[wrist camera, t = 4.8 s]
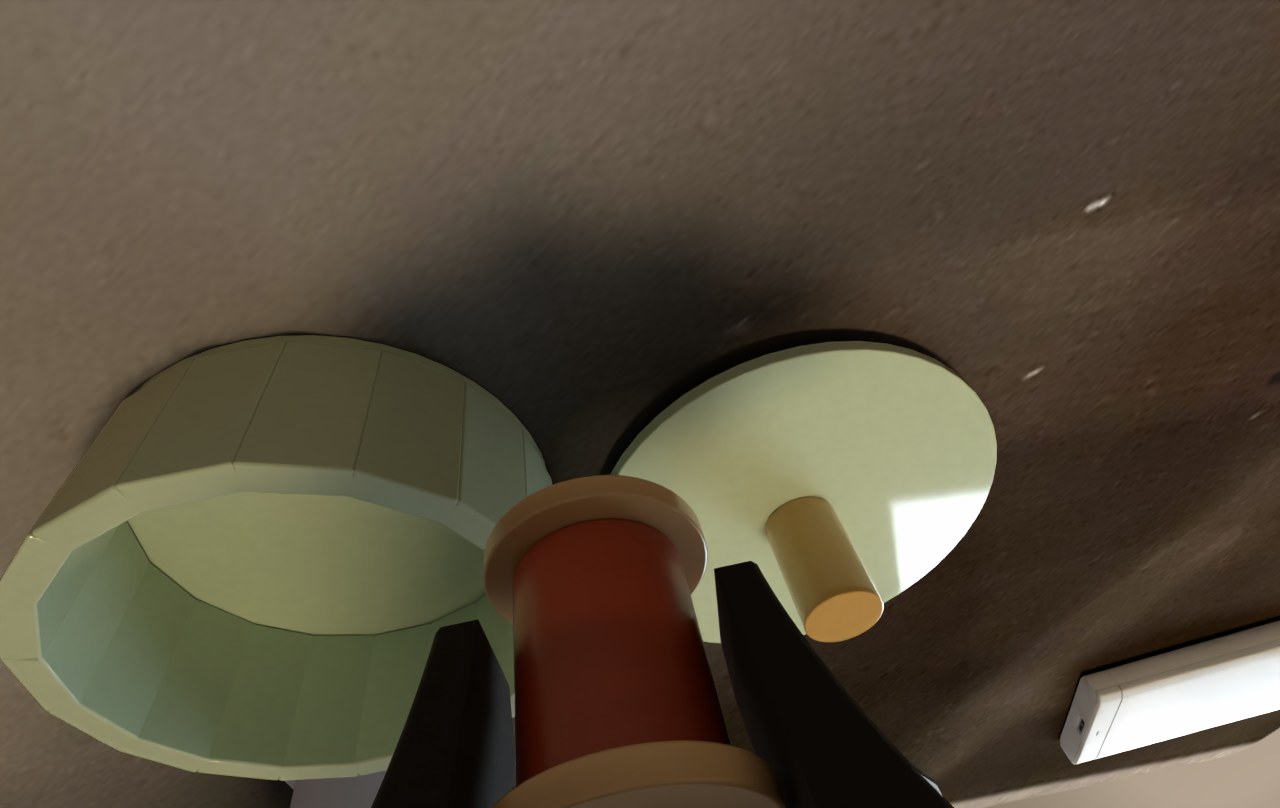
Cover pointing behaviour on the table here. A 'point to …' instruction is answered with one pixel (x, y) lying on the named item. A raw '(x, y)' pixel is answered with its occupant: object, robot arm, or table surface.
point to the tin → (267, 557)
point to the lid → (824, 475)
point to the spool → (613, 654)
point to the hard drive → (1174, 694)
